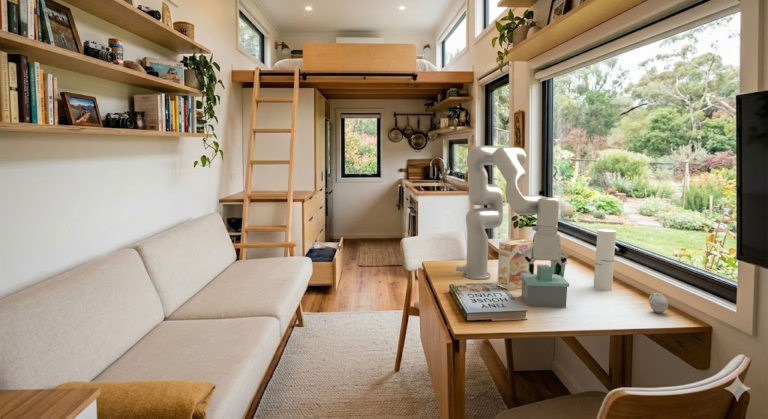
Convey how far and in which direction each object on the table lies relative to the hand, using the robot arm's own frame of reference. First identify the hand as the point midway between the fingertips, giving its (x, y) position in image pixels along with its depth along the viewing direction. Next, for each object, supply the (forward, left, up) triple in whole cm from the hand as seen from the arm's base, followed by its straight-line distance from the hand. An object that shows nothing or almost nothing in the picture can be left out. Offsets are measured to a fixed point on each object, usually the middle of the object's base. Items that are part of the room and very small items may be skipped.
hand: (544, 274), depth 177 cm
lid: (0, 0, -4) cm, 4 cm away
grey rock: (+39, -7, -11) cm, 41 cm away
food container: (+15, +34, -11) cm, 39 cm away
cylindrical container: (+30, +22, -11) cm, 39 cm away
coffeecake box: (-7, +20, -11) cm, 24 cm away
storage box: (0, 0, -11) cm, 11 cm away
